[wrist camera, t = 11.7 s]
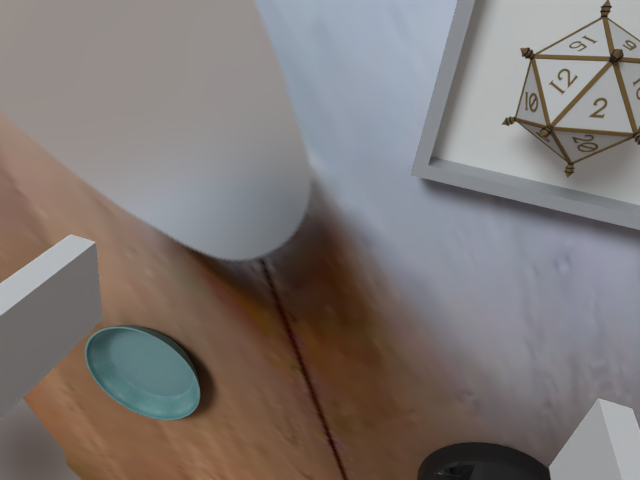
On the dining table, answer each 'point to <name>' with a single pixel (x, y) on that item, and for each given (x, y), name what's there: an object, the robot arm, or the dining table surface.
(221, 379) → the dining table surface
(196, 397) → the saucer
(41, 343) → the robot arm
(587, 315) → the dining table surface
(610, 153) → the tray
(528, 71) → the game die
